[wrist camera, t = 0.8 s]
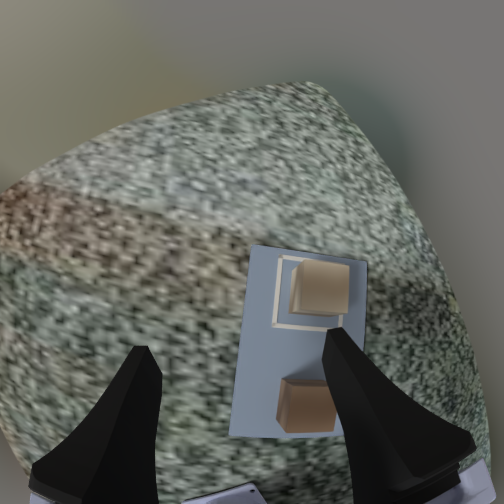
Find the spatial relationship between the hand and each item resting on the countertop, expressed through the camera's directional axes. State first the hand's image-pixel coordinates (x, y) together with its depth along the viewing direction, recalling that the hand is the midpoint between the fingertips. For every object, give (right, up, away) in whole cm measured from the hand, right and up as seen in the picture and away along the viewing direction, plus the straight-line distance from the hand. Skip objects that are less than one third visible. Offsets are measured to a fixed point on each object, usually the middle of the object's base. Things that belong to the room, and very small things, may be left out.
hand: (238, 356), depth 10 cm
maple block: (+6, 0, +15) cm, 16 cm away
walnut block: (+5, -9, +12) cm, 16 cm away
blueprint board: (+5, -5, +14) cm, 15 cm away
